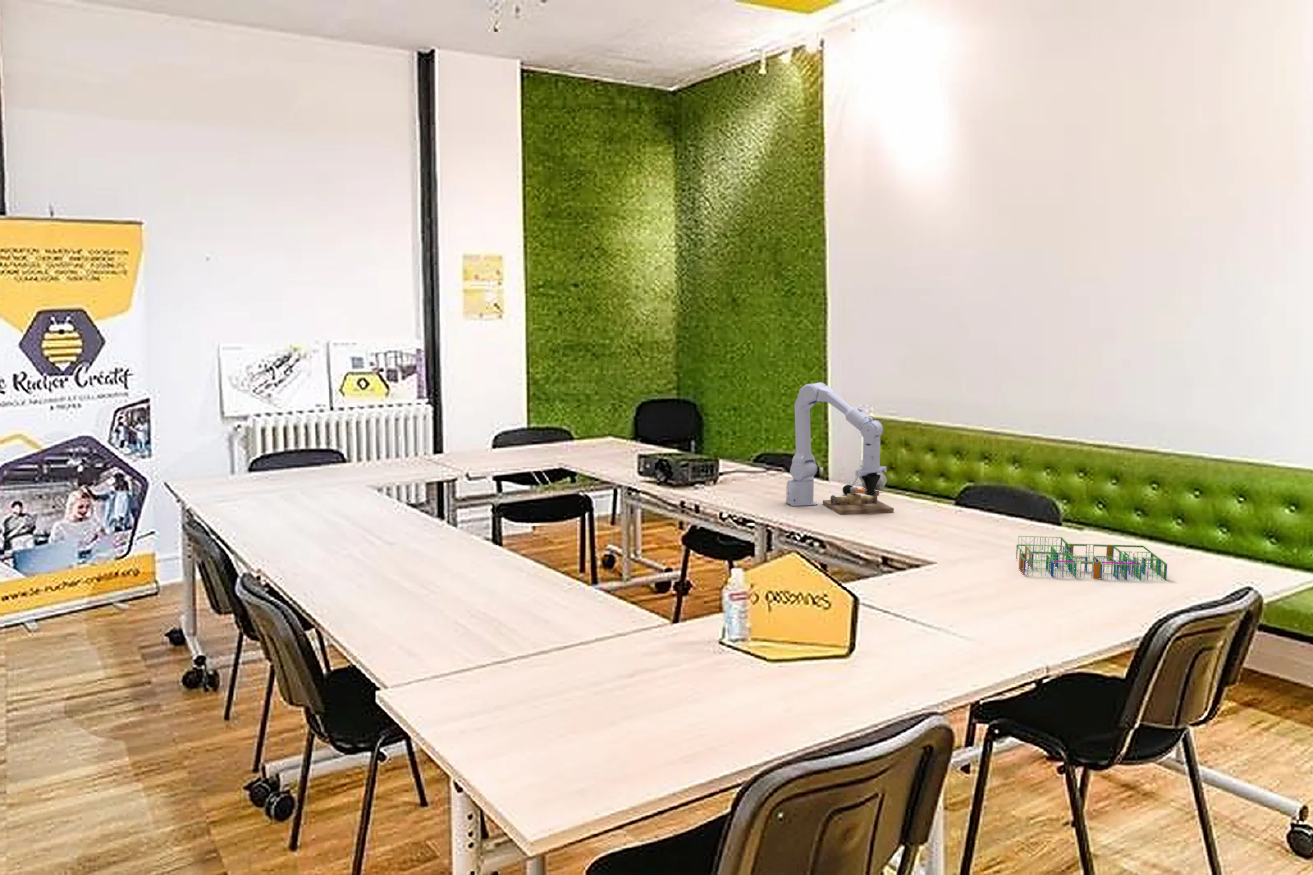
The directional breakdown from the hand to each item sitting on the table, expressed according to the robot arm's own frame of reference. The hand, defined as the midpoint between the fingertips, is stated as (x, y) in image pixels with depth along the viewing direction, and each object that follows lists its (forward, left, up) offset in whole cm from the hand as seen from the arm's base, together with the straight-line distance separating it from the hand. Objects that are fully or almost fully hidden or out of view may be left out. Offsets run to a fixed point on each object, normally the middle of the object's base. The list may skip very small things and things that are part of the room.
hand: (870, 494), depth 350 cm
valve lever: (-1, +4, 0) cm, 4 cm away
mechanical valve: (+11, +36, -6) cm, 38 cm away
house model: (+29, -81, -7) cm, 86 cm away
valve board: (-2, +7, -6) cm, 9 cm away
